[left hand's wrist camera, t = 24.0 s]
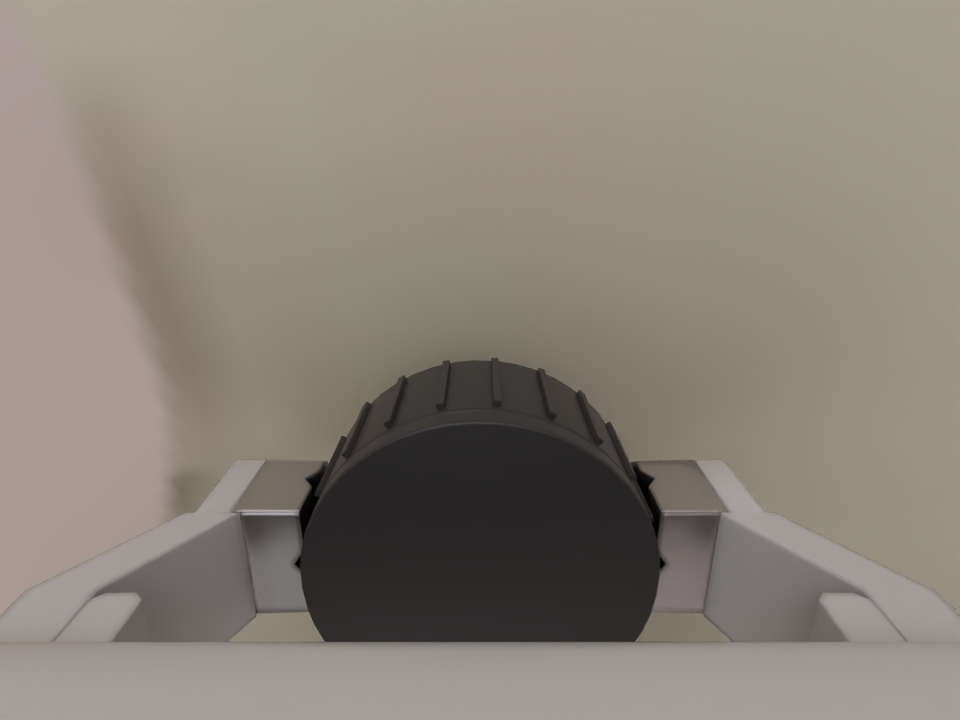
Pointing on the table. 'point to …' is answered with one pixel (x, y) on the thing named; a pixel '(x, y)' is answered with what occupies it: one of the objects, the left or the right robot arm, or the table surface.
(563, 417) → the lid
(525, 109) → the table surface
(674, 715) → the left robot arm
